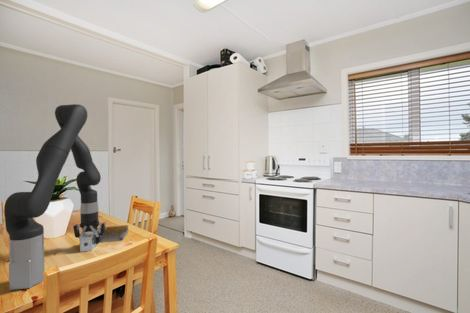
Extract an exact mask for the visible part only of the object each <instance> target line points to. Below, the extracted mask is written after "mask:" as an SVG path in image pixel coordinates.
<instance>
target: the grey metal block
mask: <svg viewBox="0 0 470 313" xmlns="http://www.w3.org/2000/svg"><path fill="white" fill-rule="evenodd" d="M99 244H100V243H98V244H96V235H95V234H94V233H93V232H86V233H85V234H84V235H83V236H81V237H80V238H79V249H80V251H79V252H80V253H82V252H92V251H93V250H94V249H95V248H96V247H98V245H99Z"/></svg>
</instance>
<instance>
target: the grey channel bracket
mask: <svg viewBox="0 0 470 313" xmlns="http://www.w3.org/2000/svg"><path fill="white" fill-rule="evenodd" d="M128 233H129V224H123V225H109V226H107V225H106V226H105V231H104V234H103V235H102V236H100V242H99V244H100V243H102V244H103V243H111V242H121V241H123V240H124V239H125V237H126V236H127V234H128Z"/></svg>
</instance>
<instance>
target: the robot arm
mask: <svg viewBox="0 0 470 313" xmlns="http://www.w3.org/2000/svg"><path fill="white" fill-rule="evenodd" d="M54 116H55V120H56V122H57V124H58V125H59V128H60V129H59V130H58V131H56V132H55V133H54V134H53V135H51V137H49V138H47V140H46V141H45V142H43V145H42V146H41V148H40V150H39V152H38V154H37V156H36V158H35V165H36V169H37V174H38V176H37V180H36V182H35V183H34V184H35V185H34V187H33V189H32V190H31V191H17V192H13V193H12V194H10V195H9V196H8V197H7V198H6V200H5V203H4V208H3V212H4V213H3V214H4V215H3V216H4V221H5V223H4V224H5V229H6V230H5V231H6V232H7V234H8V236H9V263H8V275H9V276H8V280H9V281H8V282H9V283H8V284H9V288H8V289H9V291H17V290H25V289H30V288H32V287H33V286H35V285H38V284H40V283H42V282H43V281H44V280H45V278H44V275H43V272H44V270H46V269H45V268H46V267H45V238H44V237H45V235H44V232H45V230H44V229H45V228H44V226H43V224H40V223H38V222H37V221H35V219H36V218H39V217H41V216H43V214H44V213H45V212H46V211H47V209H48V208H49V205H50V203H51V199H52V197H53V193H54V190H55V188H56V183H57V182H58V179H59V176H60V174H61V172H62V170H63V167H64V165H65V164H66V162H67V160H68V156H69V154H70V152H71V153H72V156H73V160H74V163H75V166H76V167H77V168H78V169H81V170H82V171H80V172H79V173H78V174H77V175H76V180H75V181H76V182H75V183H76V185H77V188H78V191H79V194H80V206H79V207H80V209H79V211H80V223H79V224H78V223H77V224H75V225H73V232H74V237H75V238H77V239H78V238H79V239H80V237H81V236H83V235H84V234H85V233H86V232H93V233H94V234H95V235H96V244H98V243H99V242H100V236H102V235H103V234H104V231H105V227H106V224H107V223H106V222H100V221H99V202H98V191H97V190H96V189H93V188H92V187H93V186H97V185H99V184H100V182H101V179H102V178H101V173H100V170H98V168H97V166H96V165H95V163H94V161H93V158H92V153H91V151H90V150H91V149H89V147H88V145H87V144H86V143H85V142H84V140H82V138H81V137H80V135H79V133H80V132H81V131H82V129H83V127H85V124H86V122H87V119H88V111H87V109H86V107H85V106H83V105H81V104H76V103H75V104H74V103H73V104H63V105H62V104H60V105H58V106H56V108H55V110H54ZM91 186H92V187H91ZM98 227H101V231H100V232H99V229H98ZM80 228H81V232H80ZM99 244H100V243H99ZM99 244H98V245H99Z"/></svg>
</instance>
